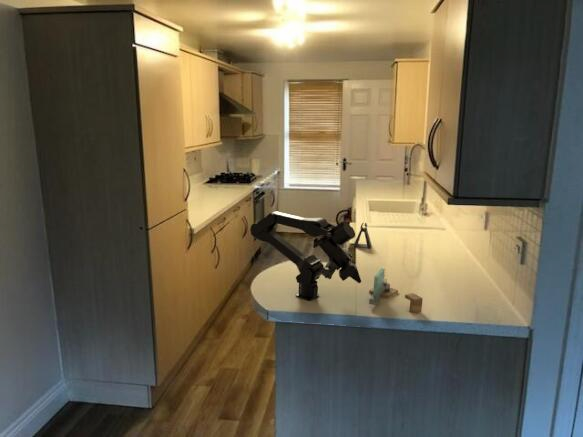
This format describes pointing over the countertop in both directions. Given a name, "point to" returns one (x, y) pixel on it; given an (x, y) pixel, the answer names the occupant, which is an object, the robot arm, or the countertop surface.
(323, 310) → the countertop surface
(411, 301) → the block
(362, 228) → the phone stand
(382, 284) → the link
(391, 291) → the pintle block
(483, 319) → the countertop surface
